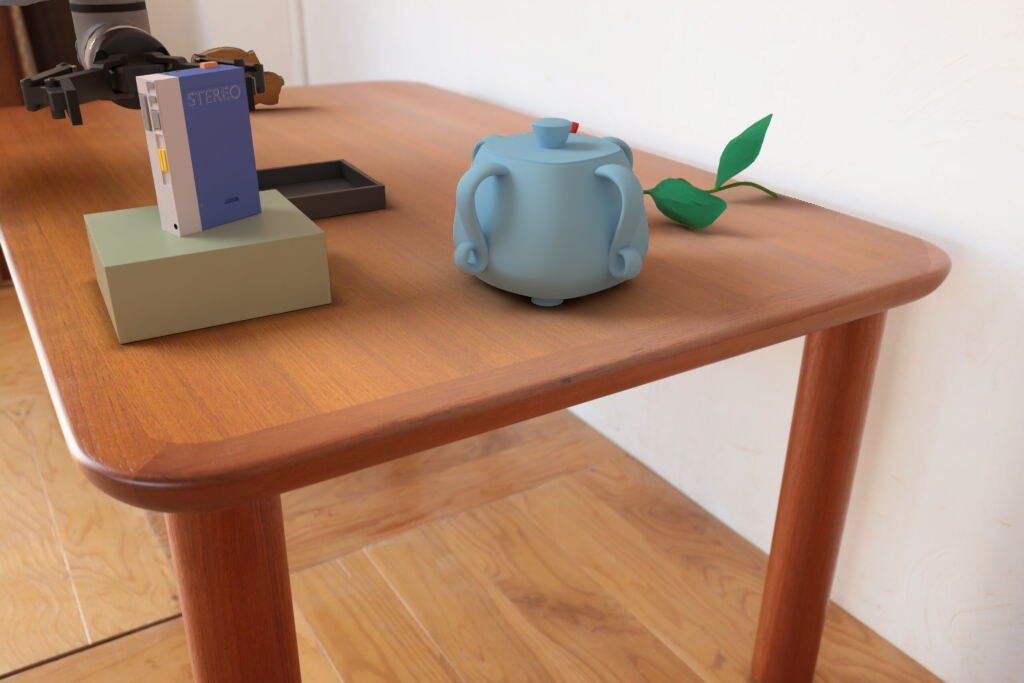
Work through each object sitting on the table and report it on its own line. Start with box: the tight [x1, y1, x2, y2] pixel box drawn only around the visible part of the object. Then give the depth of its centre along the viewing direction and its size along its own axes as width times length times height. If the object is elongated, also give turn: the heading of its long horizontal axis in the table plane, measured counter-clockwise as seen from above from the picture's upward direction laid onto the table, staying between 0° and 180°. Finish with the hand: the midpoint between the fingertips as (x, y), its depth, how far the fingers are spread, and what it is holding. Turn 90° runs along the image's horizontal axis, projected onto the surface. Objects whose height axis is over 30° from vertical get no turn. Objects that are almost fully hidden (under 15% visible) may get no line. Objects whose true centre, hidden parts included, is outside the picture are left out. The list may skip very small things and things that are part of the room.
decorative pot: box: [452, 117, 650, 307], centre depth 74 cm, size 16×16×14 cm
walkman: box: [136, 61, 262, 237], centre depth 69 cm, size 8×3×12 cm, turn 143°
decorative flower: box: [570, 113, 778, 230], centre depth 90 cm, size 14×30×10 cm, turn 104°
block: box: [83, 189, 332, 345], centre depth 73 cm, size 14×16×6 cm
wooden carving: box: [190, 46, 285, 106], centre depth 142 cm, size 16×5×10 cm, turn 114°
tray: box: [256, 158, 387, 220], centre depth 98 cm, size 13×13×2 cm
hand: (165, 100), depth 73 cm, fingers open, 13 cm apart
